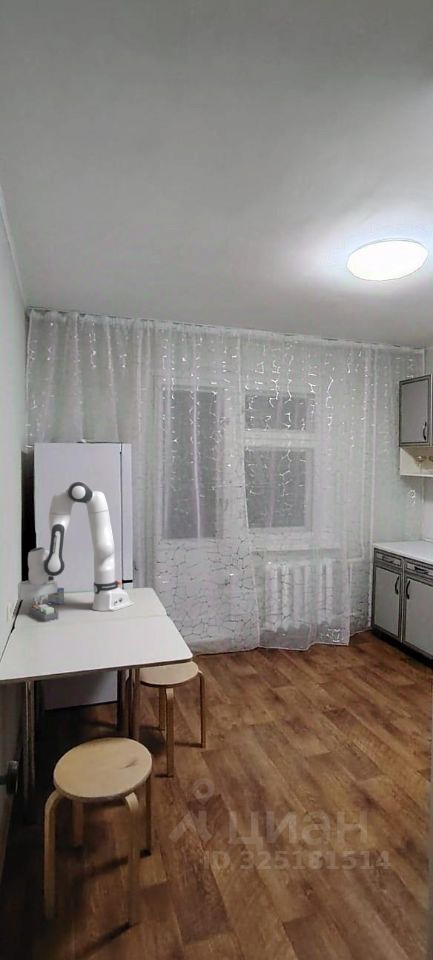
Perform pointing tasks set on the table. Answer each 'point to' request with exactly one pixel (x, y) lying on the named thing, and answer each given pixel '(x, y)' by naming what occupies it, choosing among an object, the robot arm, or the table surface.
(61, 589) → the medicine box
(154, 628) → the table surface
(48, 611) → the sage key
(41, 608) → the light grey square block
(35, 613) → the grey compartment tray
